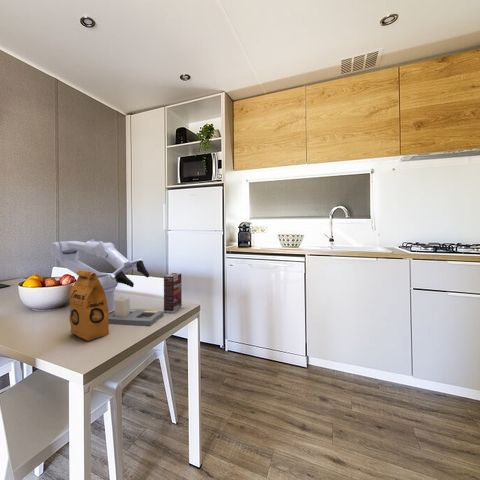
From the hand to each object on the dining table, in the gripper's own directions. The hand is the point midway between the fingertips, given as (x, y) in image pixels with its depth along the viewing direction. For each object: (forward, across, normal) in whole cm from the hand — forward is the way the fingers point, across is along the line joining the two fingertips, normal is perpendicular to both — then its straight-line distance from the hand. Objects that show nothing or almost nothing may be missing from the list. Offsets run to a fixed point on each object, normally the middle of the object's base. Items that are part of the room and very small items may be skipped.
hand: (140, 280), depth 99 cm
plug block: (+3, -11, +12) cm, 17 cm away
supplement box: (+15, +7, +13) cm, 21 cm away
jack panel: (+8, -9, +10) cm, 15 cm away
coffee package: (+4, -24, +6) cm, 25 cm away
